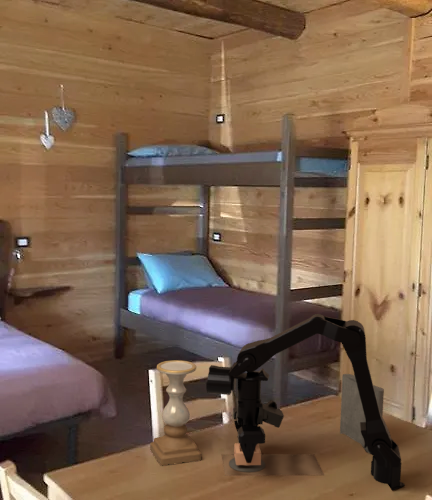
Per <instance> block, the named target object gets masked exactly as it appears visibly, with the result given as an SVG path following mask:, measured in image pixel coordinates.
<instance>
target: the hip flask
mask: <svg viewBox="0 0 432 500" xmlns="http://www.w3.org/2000/svg"><path fill="white" fill-rule="evenodd" d="M341 378H342V379H341V381H342V382H341V397H340V399H341V403H340V422H339V423H340V424H339V425H340V426H339V434H340V435H341V434H342V435H343V434H344V435H345V436H347V437H348V438H350V439H351V440H352V441H355V442H356V443H358V444H360V446H361V447H362V448H363V449H364V451H365V453H367V454H370V453H369V451H368V448H367V447H366V448H364V439H363V436H362V434H361V430H360V422H365V415H364V411H363V407H362V403H361V399H360V395H359V391H358V387H357V383H356V379H355V375H354V374H351V373H344V374H342V377H341ZM373 387H374V391H375V395H376V399H377V403H378V407H379V411H380V413H381V415H382V417H383V416H384V415H383V412H384V394H385V393H384V391H385V390H384V388H382V387H380V386H376V385H374V384H373Z"/></svg>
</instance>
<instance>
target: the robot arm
mask: <svg viewBox="0 0 432 500" xmlns="http://www.w3.org/2000/svg"><path fill="white" fill-rule="evenodd" d="M315 335H321V336H322V337H323V336H324V337H326V338H328V339H330V340H332V341H334V342H338V343H341V345H342V347H343V349H344V351H345V354H346V356H347V357H348V359H349V362H350V363H351V366H352V370H353V375H355V379H356V383H357V387H358V391H359V395H360V399H361V403H362V407H363V411H364V415H365V422H360V430H361V434H362V436H363V439H364V448H366V447H367V448H368V451H369V453H368V454H370V455H372V460H371V462H370V463H371V464H370V475H371V476H372V477H373V479H374V480H375V481H376V482H378V483H381V484H384V485H385V484H386V485H388V487H389V489H390V490H391V491H395V490H397V489H401V488H403V487H405V485H406V484H405V483H404V482H402V481H401V476H402V458H401V456H402V455H401V452H400V447H399V444H397V443H396V441H394V440H393V438H392V437H391V432H390V430H389V427H388V426H387V423H386V420H385V419H384V417H383V416H382V415H381V413H380V411H379V407H378V403H377V399H376V395H375V391H374V387H373V385H374V383H373V378H372V375H371V371H370V367H369V362H368V358H367V355H368V354H367V341H366V331H365V327H364V325H363V324H362V323H361V322H360V321H358V320H354V319H350V320H344V319H341V318H336V317H335V318H334V317H330V316H326V315H323V314H321V313H316V314H313V315H312V316H311V317H309V318H307V319H305V320H302V321H301V322H299V323H297V324H295V325H293V326H291V327H289V328H287V329H285V330H283V331H281V332H279V333H277V334H275V335H273V336H271V337H269V338H266V339H265V338H264V339H259V340H256V341H253V342H249V343H247V344H245V345H243V346H242V347H241V349H240V351H239V352H238V354H237V357H236V361H235V362H233V363H232V365H231V366H230V367H229V366H218V365H216V364H215V365H213V364H211V365H210V366H209V367H208V373H207V380H206V383H205V384H206V386H205V388H206V393H207V394H214V395H224V396H225V395H227V396H231V394H232V392H235V391H236V389H237V396H236V406H235V407H233V409H232V418H233V420H234V421H233V423H234V427H235V430H236V432H237V437H236V438H237V441H238V443H239V444H240V446H241V449H242V452H243V454H244V457H245V460H246V462H247V463H251V461H252V458H253V454H254V451H255V448H256V445H257V444H259V445H261V444H262V445H263V444H265V443H266V433H265V430H264V429H263V428H262V427H261V425H263V422H264V423H266V424H269V425H271V426H273V427H275V428H280V426H281V424H282V422H283V419H284V417H285V415H284V412H283V411H282V409H280V407H278V404H277V402H276V401H275V400H271V399H270V400H269V401H267V403H263V402H262V399H261V397H262V396H261V395H262V382H268V380H269V379H270V374H269V373H268V372H266V371H265V368H262V366H263V365H265V364H266V363H267V362H268V361H270V360H271V359H272V358H273V357H275V356H276V355H277V354H279V353H281V352H283V351H285V350H288V349H289V348H291V347H293V346H295V345H297V344H299V343H301V342H303V341H305V340H307V339H309V338H312V337H313V336H315ZM260 367H261V369H260V370H258V369H259V368H260ZM257 370H258V371H257ZM364 448H363V449H364Z"/></svg>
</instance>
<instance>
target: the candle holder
mask: <svg viewBox="0 0 432 500" xmlns="http://www.w3.org/2000/svg"><path fill="white" fill-rule="evenodd" d="M156 370H157V371H158V372H159V373H161V374H165V376H166V377H167V378H168V381H169V384H168V386H167V387H166V389H165V391H166V393H167V395H168V397H169V399H168V402H167V404H166V405H165V407H164V408H163V410H162V412H161V420H162V421H163V422H164V424H165V426H164V427H163V432H164V435H163V436H158V437H154V438H153V441H151V442H150V444H149V446H150V447H149V450H151V451H150V452H151V454H152V453H153V454H152V455H153V457H154V456H155V457H154V458H155V460H156V459H157V460H156V462H159V463H160V464H159V463H158V464H159V465H160V466H161V465H165V466H169V465H168V464H173V465H175V464H174V463H180V464H183V463H182V462H187V463H191V462H190V461H195V462H199V461H198V460H200V461H201V460H202V452H201V451H200V450H199V449H198V445H197V444H196V442H195V441H194V440H193V439H192V438H191V437H190V436H189V435H188V434H187V433H188V426H187V425H186V424H187V423H188V422H189V421H190V419H191V418H190V417H191V413H190V411H189V408H188V407H187V405H186V404H185V402H184V399H183V397H184V394H185V393H186V392H187V388H186V387H185V384H184V380H185V378H186V376H187V375H189V374H192V373H194V372H195V371H196V370H197V365H196V364H195V363H194V362H191V361H187V360H181V359H178V360H177V359H176V360H174V359H173V360H165V361H161V362H159V363H158V364H156Z"/></svg>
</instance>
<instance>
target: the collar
mask: <svg viewBox="0 0 432 500" xmlns="http://www.w3.org/2000/svg"><path fill="white" fill-rule="evenodd" d="M260 448H261V447H260V444H257V445H256V448H255V451H254V454H253V458H252V461H251V463H247V462H246V460H245V457H244V454H243V452H242V449H241V446H240V444H239V442H237V443H236V442H235V443H234V448H233V449H234V450H233V451H234V456H235V461H236V465H261V454H262V452H261V449H260Z"/></svg>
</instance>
